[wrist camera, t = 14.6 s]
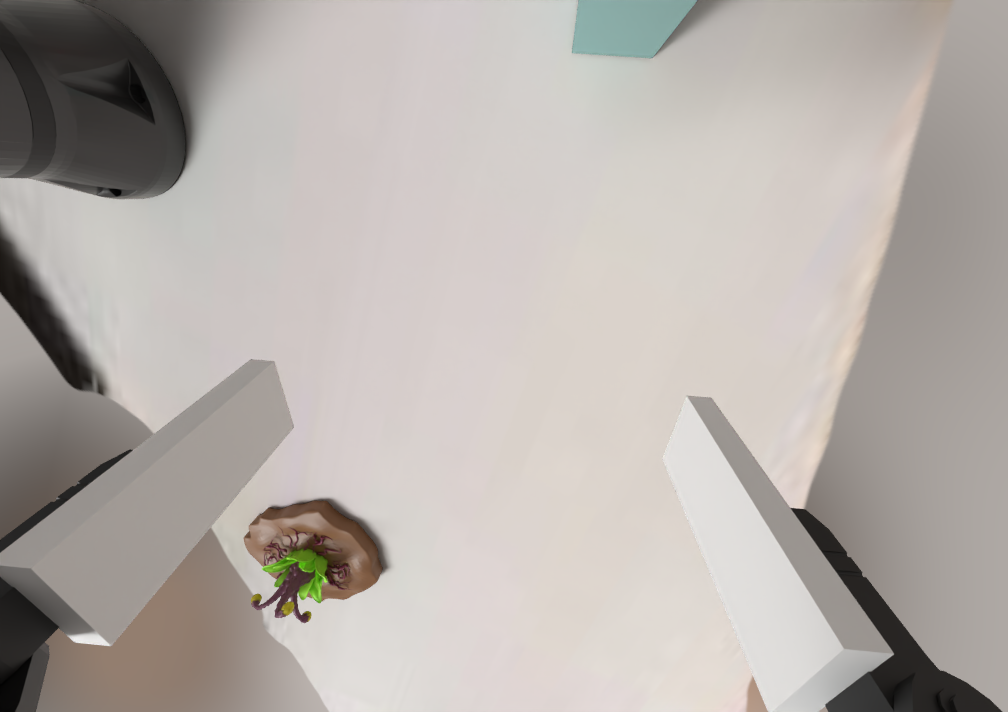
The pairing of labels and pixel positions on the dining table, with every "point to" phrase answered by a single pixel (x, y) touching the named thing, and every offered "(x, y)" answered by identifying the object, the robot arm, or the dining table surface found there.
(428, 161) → the dining table surface
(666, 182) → the dining table surface
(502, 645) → the dining table surface
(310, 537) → the plant
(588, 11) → the teal pillar
